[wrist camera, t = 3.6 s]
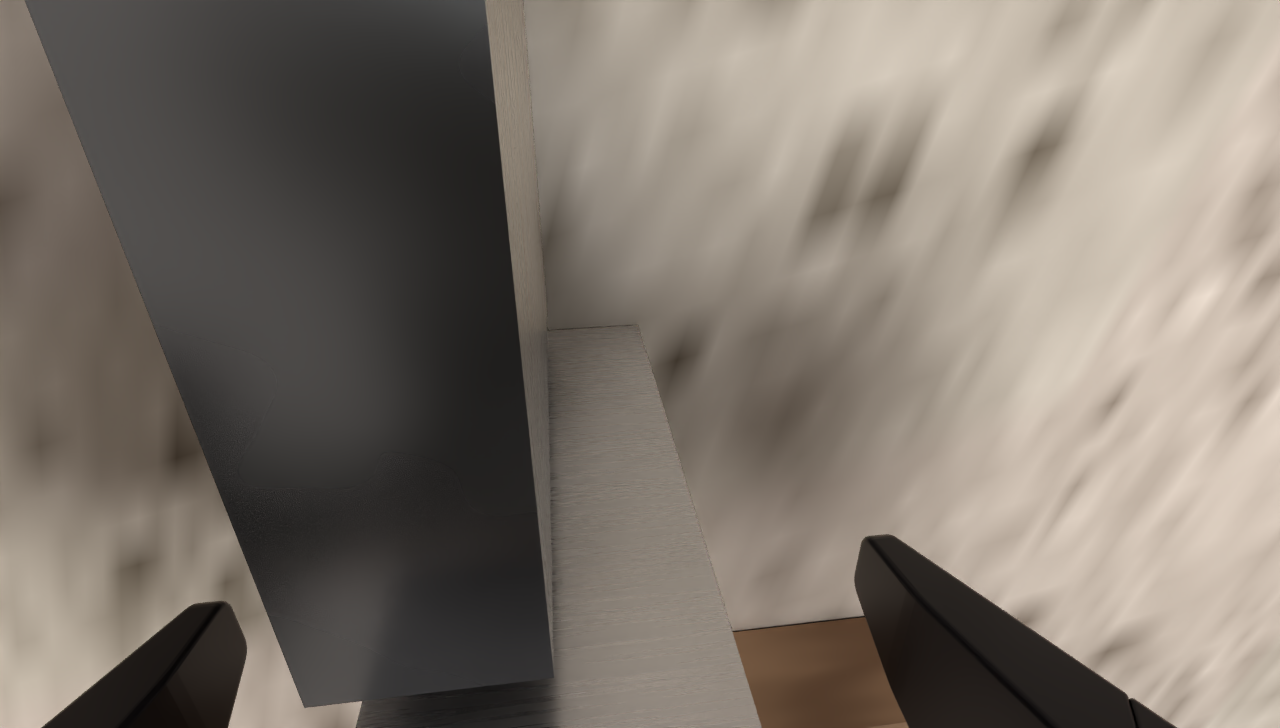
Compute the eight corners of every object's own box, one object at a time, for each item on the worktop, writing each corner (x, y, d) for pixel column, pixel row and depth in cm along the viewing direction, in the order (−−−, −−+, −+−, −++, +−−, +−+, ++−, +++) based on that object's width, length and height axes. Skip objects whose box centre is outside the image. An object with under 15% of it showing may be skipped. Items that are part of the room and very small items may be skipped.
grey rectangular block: (520, -26, 10) (474, -106, 3) (546, 303, 12) (554, 677, 6) (383, -27, 10) (-21, -115, 3) (438, 309, 12) (305, 707, 5)
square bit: (638, 324, 13) (838, 978, 4) (639, 467, 15) (783, 1147, 6) (456, 336, 13) (263, 1086, 4) (478, 481, 14) (380, 1230, 5)
